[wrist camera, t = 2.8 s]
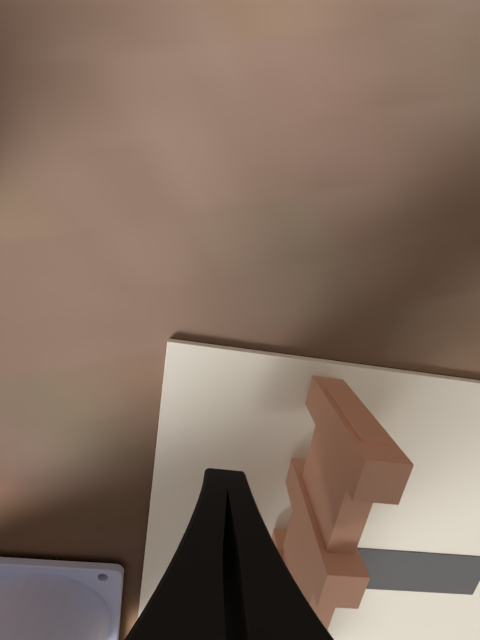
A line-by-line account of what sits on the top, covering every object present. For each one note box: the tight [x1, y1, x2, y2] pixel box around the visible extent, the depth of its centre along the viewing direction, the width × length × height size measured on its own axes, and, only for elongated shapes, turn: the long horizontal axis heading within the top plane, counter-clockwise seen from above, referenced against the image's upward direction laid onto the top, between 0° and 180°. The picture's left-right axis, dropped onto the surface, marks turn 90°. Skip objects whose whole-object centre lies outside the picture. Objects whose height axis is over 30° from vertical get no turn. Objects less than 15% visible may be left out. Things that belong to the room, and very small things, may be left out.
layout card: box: [138, 338, 480, 640], centre depth 17 cm, size 22×22×1 cm
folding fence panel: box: [271, 375, 414, 630], centre depth 12 cm, size 10×1×5 cm, turn 171°
